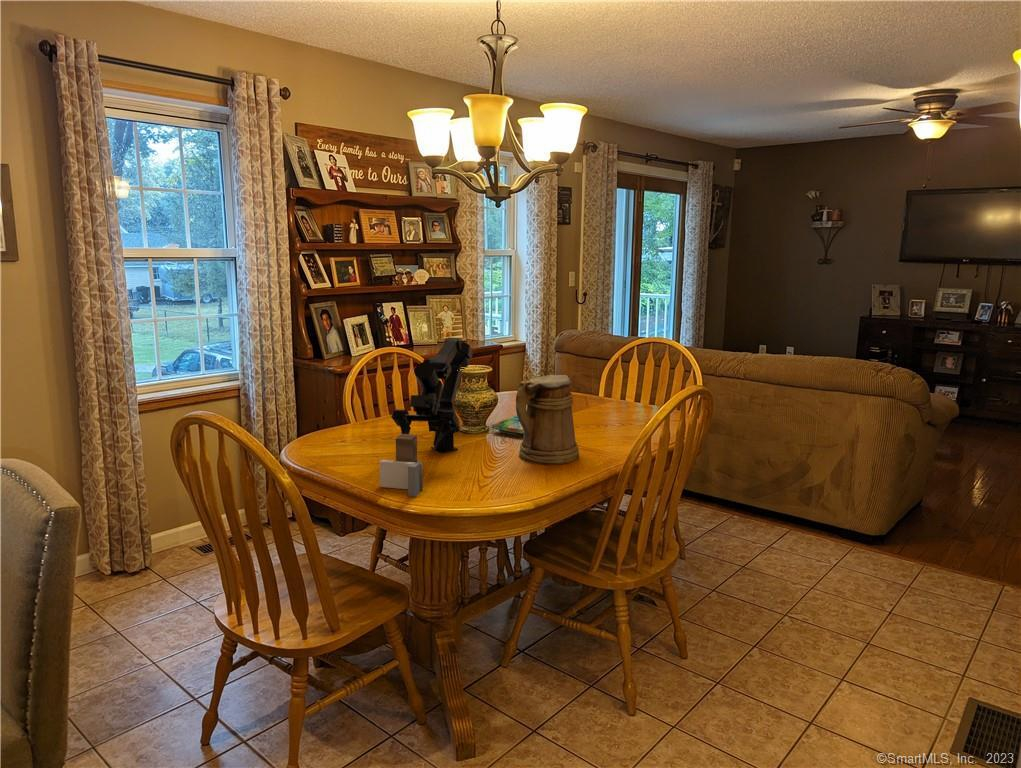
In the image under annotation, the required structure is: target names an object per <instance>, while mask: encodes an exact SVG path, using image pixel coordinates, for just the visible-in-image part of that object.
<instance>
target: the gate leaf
mask: <svg viewBox="0 0 1021 768" xmlns="http://www.w3.org/2000/svg"><path fill="white" fill-rule="evenodd" d="M411 463H418V464H419V484H420V491H423V485H424V483H423V462H422V461H417V462H403V461H396V460H391V459H380V461H379V487H380V488H387V489H388V488H389V489H390V488H391V489H400V490H408V466H409V465H410V464H411Z"/></svg>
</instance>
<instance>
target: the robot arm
mask: <svg viewBox="0 0 1021 768" xmlns="http://www.w3.org/2000/svg"><path fill="white" fill-rule="evenodd" d="M473 351H474V350H473V348H472V347H471V345H470V344H469V343H467V342H465V341H463V339H461V338H459V337H447V338H444V342H443V345H442V346H441V347H440V349H439V350H438V352H437V354H436V355H434V356H433V355H432V356H430V357H428V358H424V359H423V361H422V362H420V363H419V364H417V365H416V366H415V368H414V370H413V371H414V375H415V378H416V380H417V382H418V384H419V386H420V387H421V391H420V394H412V395H411V394H410V400H409V407H410V408H413V409H412V411H413V414H412V413H411V414H410V413H409V411H408V410H407V409H398V408H397V409H394V410H393V411H392V412H391V419H392V421H393V422H394V423H395V424H396V426H397V427H399V428H400V431H401V432H400V433H401V434H410V431H411V429H412V428H411V425H412V422H427V425H428V430H429V431H428V432H434V439H433V446H430V449H431V450H433V451H435V452H437V453H440V454H444V453H450V452H454V451H458V450H459V448H457V447H455V445H454V444H455V443H454V442H455V440H454V439H455V438H454V437H455V436H454V434H456V433H459V432H460V422H459V421H460V419H459V417H458V416H457V415H458V414H457V412H456V409H455V406H454V404H455V400H456V396H457V392H458V388H459V384H460V380H461V376H462V373H463V370H461V371H460V369H464V370H465V369H466V368H467V367H468V366H469V364H470V363H471V362H470V361H471V360H472V358H473V354H474V353H473ZM461 367H466V368H461ZM457 370H458V371H457ZM458 372H459V373H458ZM461 372H462V373H461ZM441 380H444V382H443V381H441ZM401 434H400V435H401Z"/></svg>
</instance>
